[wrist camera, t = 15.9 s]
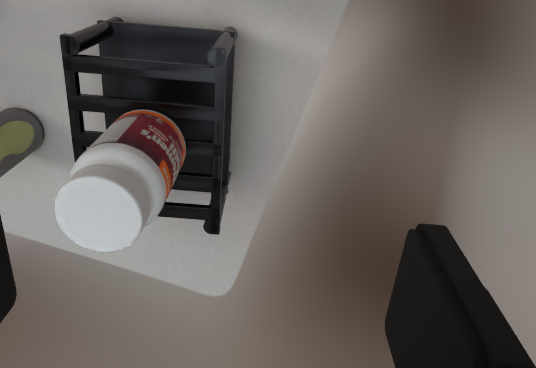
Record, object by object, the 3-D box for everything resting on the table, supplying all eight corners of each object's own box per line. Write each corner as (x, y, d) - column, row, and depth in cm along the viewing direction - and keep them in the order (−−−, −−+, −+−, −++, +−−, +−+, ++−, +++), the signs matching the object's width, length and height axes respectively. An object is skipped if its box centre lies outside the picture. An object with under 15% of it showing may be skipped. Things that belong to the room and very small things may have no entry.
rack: (237, 27, 43) (226, 48, 33) (230, 179, 50) (219, 235, 40) (109, 16, 43) (59, 34, 33) (120, 171, 50) (81, 224, 40)
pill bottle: (202, 155, 37) (174, 232, 27) (142, 191, 38) (95, 275, 28) (154, 91, 35) (103, 148, 24) (93, 132, 36) (21, 201, 26)
